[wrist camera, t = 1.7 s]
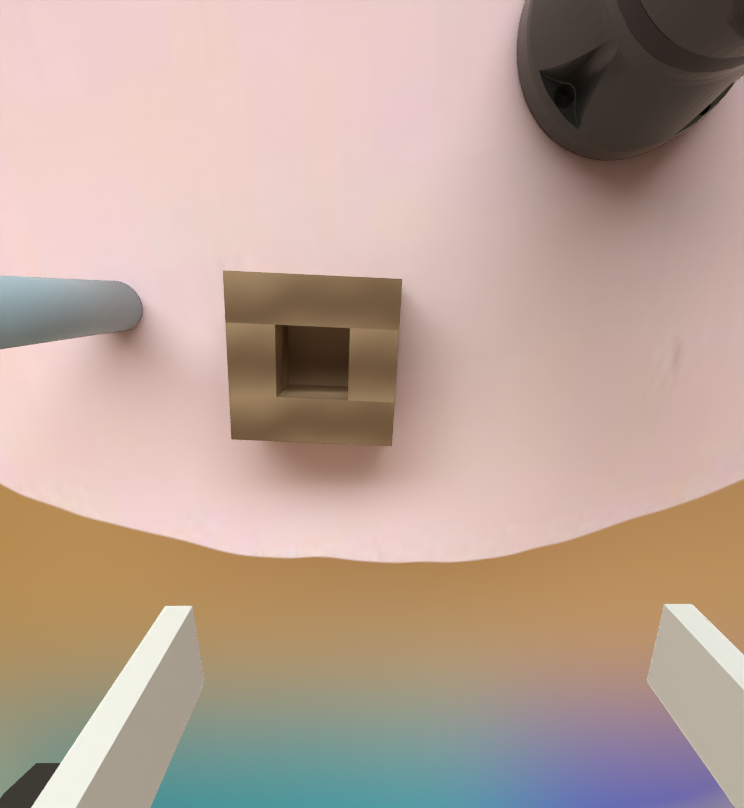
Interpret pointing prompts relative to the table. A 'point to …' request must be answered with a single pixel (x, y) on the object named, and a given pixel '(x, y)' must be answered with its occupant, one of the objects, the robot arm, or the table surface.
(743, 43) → the robot arm
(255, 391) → the socket block
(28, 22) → the table surface
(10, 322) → the pin
